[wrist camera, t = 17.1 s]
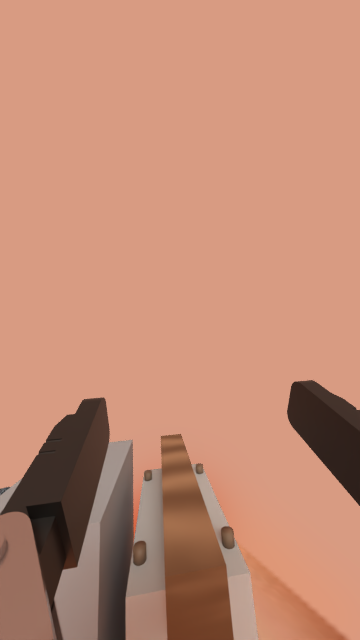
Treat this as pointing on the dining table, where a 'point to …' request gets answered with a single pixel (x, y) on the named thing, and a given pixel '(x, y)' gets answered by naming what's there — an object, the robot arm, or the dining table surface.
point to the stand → (137, 560)
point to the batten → (191, 554)
